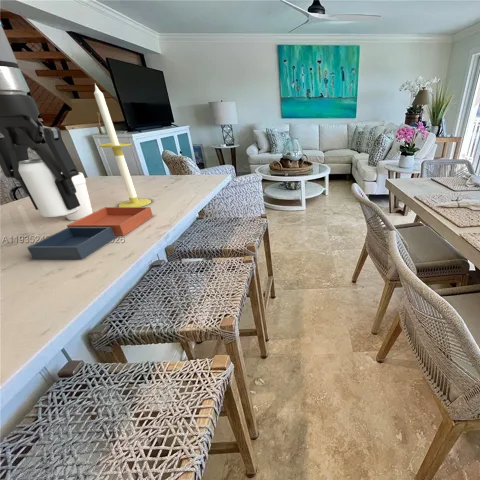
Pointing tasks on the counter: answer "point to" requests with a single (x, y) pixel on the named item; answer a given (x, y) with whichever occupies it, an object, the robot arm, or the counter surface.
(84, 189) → the foam cup
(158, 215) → the counter surface
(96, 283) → the counter surface
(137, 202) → the candle
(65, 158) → the robot arm
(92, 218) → the bin
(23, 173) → the can
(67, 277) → the counter surface
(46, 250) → the can bin
